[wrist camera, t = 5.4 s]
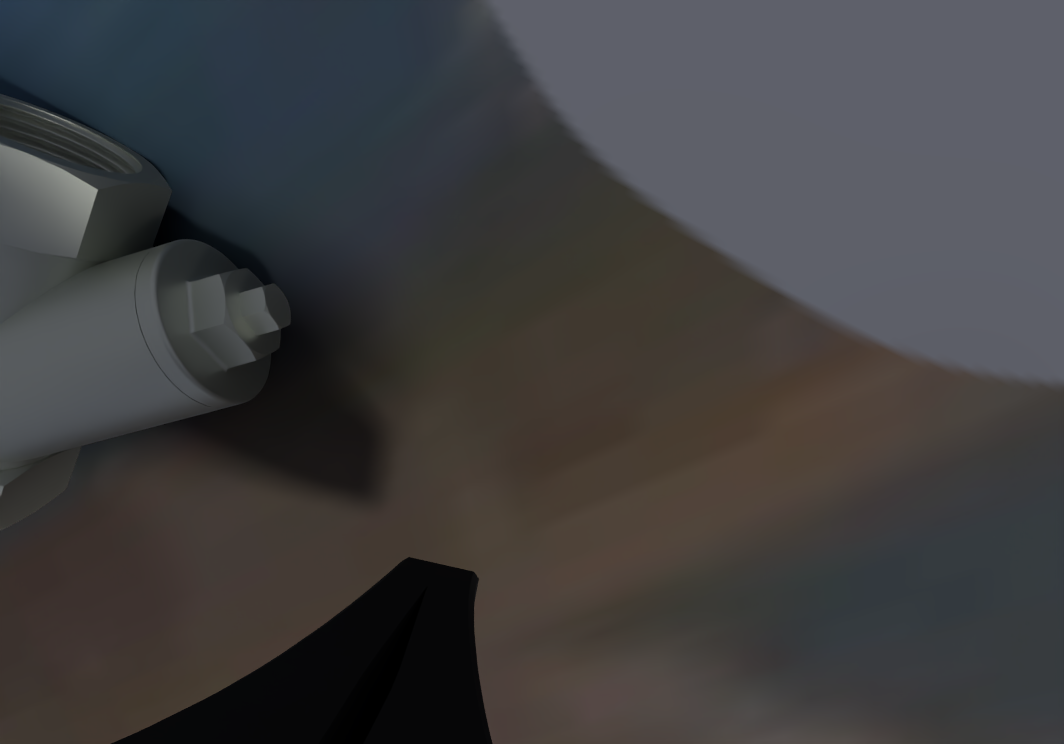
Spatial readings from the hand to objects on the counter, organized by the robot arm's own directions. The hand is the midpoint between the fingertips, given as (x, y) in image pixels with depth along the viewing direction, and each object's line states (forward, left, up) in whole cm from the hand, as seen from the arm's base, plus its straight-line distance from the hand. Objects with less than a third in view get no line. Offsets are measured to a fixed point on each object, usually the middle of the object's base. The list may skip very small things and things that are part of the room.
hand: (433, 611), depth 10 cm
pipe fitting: (+3, +8, -4) cm, 9 cm away
